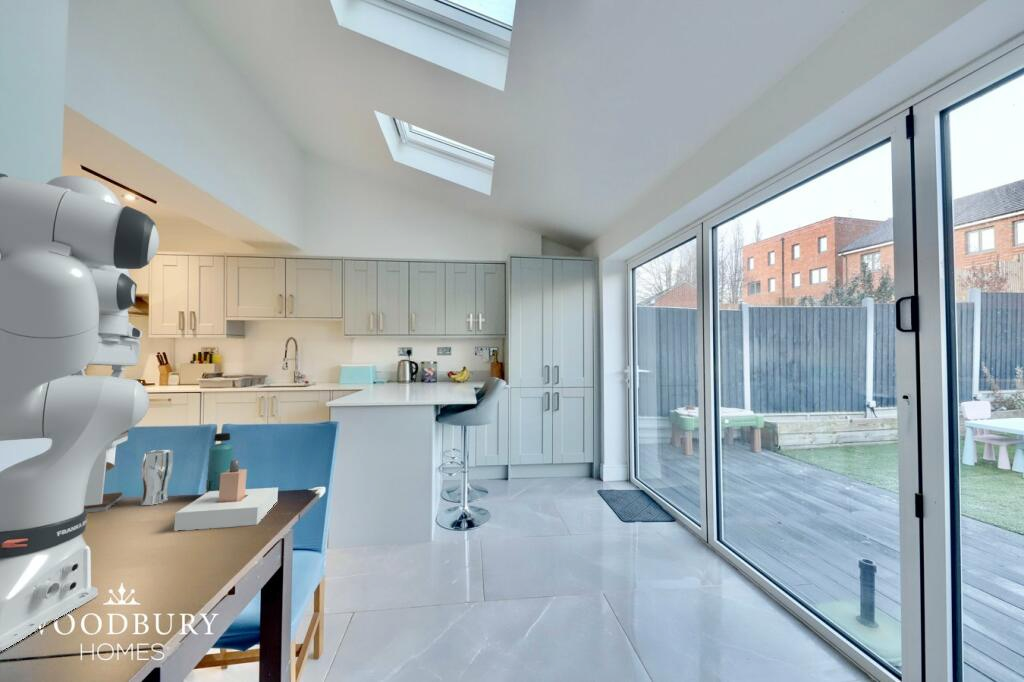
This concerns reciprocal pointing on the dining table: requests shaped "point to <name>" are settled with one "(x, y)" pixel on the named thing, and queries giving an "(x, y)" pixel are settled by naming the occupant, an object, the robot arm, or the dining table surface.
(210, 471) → the beverage bottle
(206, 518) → the socket
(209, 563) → the dining table surface
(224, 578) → the dining table surface
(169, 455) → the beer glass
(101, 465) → the display case
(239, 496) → the plug
